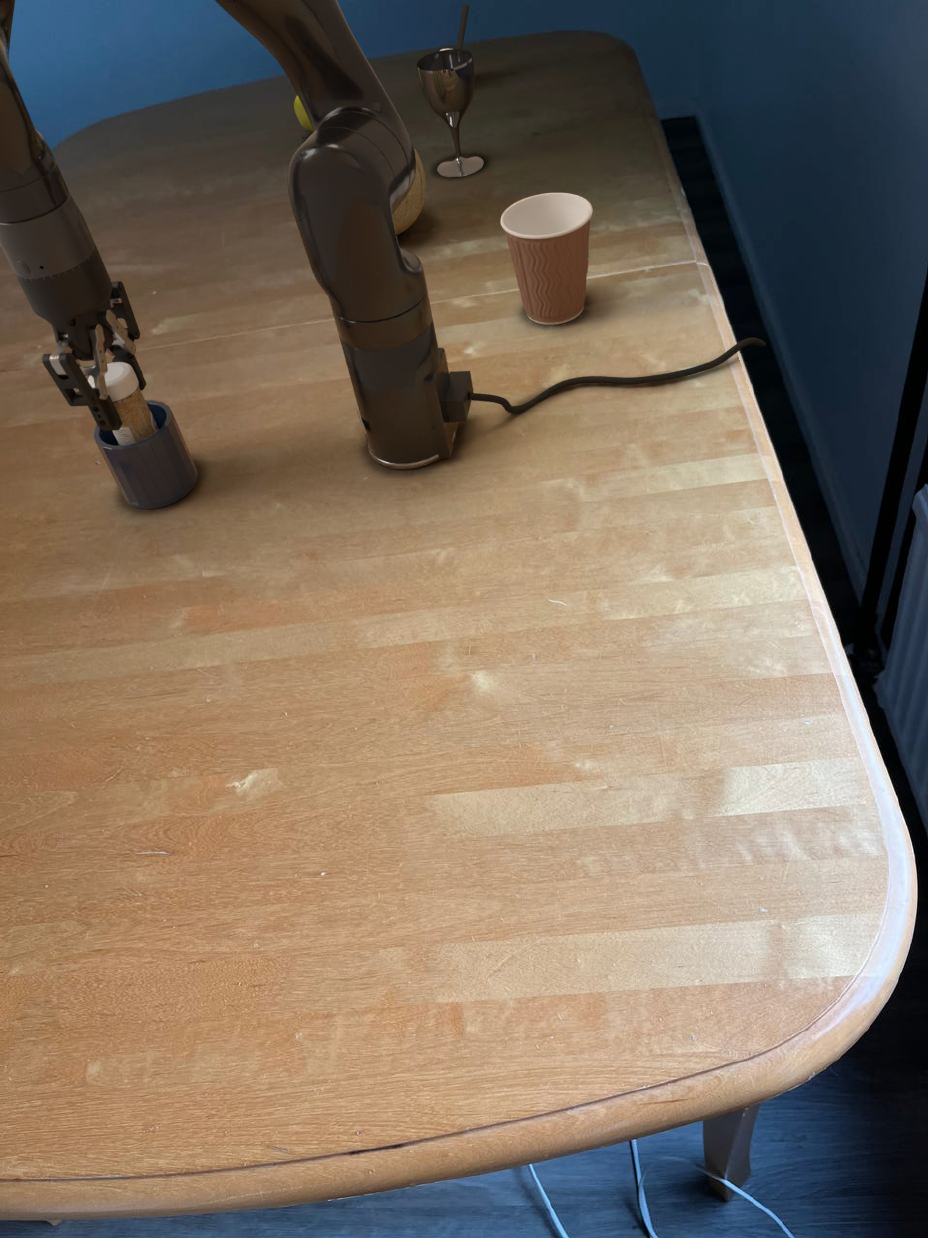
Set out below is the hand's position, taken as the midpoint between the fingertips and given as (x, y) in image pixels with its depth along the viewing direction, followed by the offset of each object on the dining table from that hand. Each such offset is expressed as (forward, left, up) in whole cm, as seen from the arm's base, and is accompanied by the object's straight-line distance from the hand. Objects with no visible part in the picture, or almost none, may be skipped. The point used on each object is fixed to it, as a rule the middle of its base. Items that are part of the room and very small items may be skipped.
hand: (124, 407), depth 103 cm
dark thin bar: (-16, -104, -10) cm, 106 cm away
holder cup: (0, 0, -10) cm, 10 cm away
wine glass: (-22, -73, -10) cm, 77 cm away
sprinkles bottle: (0, 0, -10) cm, 10 cm away
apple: (+3, -90, -10) cm, 91 cm away
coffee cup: (-40, -31, -10) cm, 52 cm away
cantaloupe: (-14, -53, -10) cm, 56 cm away
